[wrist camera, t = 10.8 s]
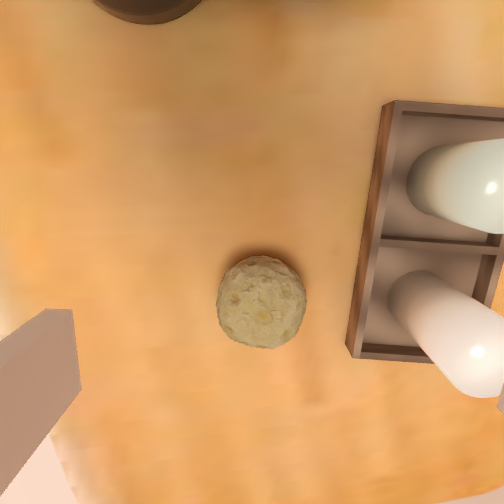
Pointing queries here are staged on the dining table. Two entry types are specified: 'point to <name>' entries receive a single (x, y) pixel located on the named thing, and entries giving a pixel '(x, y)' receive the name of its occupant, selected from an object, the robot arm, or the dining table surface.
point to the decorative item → (261, 302)
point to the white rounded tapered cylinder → (452, 331)
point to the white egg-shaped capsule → (461, 184)
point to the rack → (417, 227)
